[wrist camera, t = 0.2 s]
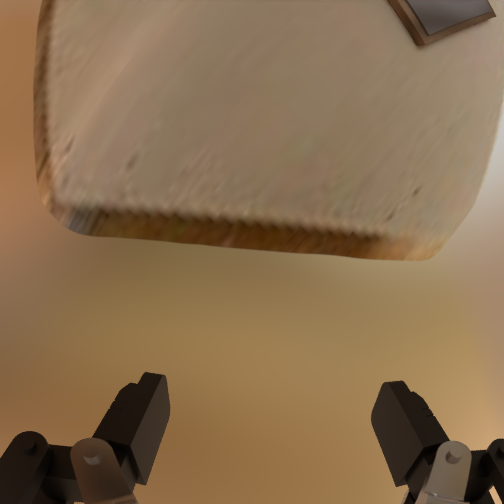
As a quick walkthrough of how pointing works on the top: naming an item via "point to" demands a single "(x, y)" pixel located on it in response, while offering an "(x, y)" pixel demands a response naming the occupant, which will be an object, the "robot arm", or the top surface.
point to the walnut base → (440, 16)
